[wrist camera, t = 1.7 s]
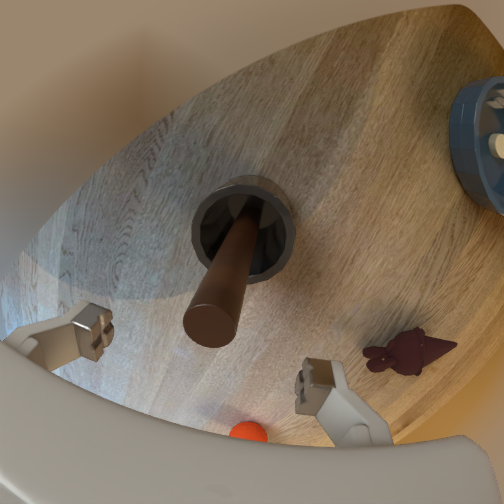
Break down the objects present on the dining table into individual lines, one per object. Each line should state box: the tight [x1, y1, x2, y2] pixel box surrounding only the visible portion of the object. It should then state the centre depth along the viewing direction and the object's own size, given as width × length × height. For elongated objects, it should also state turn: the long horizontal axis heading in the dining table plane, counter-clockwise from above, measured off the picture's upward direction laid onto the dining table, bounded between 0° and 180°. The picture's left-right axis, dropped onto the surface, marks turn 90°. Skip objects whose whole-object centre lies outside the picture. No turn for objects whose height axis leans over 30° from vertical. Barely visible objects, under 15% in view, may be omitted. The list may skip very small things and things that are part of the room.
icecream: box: [363, 327, 457, 376], centre depth 32 cm, size 7×7×15 cm
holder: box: [192, 175, 296, 284], centre depth 27 cm, size 9×9×8 cm
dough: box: [488, 134, 504, 158], centre depth 23 cm, size 3×3×2 cm
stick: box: [183, 205, 261, 348], centre depth 21 cm, size 2×2×20 cm
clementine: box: [229, 422, 267, 442], centre depth 42 cm, size 8×7×7 cm
